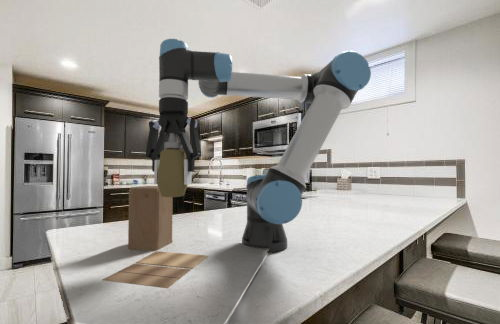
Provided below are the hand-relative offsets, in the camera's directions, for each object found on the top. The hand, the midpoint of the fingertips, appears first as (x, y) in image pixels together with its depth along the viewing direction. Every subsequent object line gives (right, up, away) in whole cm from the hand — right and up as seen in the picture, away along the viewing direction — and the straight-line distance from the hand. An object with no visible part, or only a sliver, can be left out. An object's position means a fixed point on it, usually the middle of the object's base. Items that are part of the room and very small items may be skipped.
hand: (172, 184), depth 69 cm
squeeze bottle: (0, -3, 0) cm, 3 cm away
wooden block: (-11, -22, +13) cm, 28 cm away
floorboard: (-2, -21, -10) cm, 24 cm away
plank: (0, -21, -1) cm, 21 cm away
